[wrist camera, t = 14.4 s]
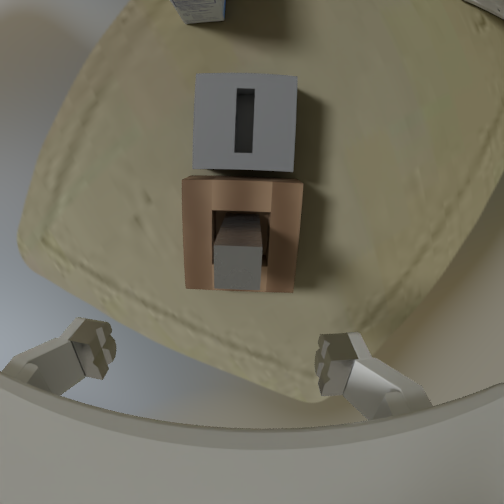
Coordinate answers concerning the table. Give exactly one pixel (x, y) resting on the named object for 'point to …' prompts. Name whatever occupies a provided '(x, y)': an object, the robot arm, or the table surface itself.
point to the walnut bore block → (242, 202)
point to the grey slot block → (244, 121)
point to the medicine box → (200, 10)
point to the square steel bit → (238, 253)
